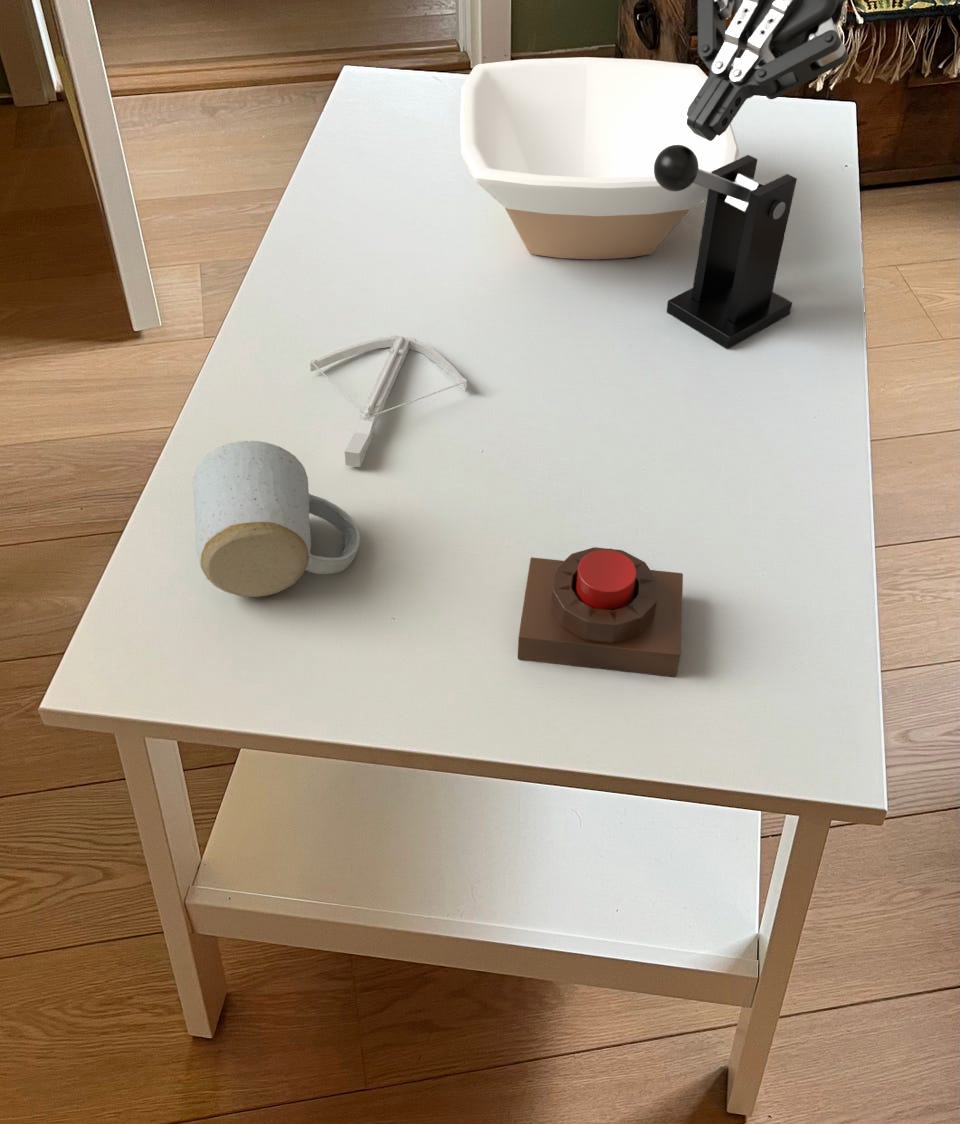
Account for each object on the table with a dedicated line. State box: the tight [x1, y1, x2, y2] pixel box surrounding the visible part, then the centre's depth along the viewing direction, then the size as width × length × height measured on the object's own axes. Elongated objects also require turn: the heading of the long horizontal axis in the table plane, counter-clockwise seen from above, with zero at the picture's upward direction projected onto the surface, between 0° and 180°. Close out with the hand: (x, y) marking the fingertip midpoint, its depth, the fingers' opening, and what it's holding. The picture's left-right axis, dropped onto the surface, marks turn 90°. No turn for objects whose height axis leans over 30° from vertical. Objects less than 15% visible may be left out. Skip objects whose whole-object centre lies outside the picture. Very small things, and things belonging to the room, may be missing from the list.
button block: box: [517, 546, 684, 678], centre depth 75 cm, size 10×7×4 cm
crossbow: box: [309, 334, 468, 468], centre depth 92 cm, size 16×13×2 cm
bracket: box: [666, 154, 798, 350], centre depth 97 cm, size 8×7×13 cm
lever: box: [654, 145, 766, 213], centre depth 89 cm, size 14×3×3 cm, turn 130°
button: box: [576, 550, 636, 610], centre depth 74 cm, size 4×4×2 cm
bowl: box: [459, 56, 740, 260], centre depth 108 cm, size 24×25×11 cm
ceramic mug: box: [192, 440, 361, 598], centre depth 78 cm, size 11×8×8 cm
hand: (698, 132), depth 85 cm, fingers closed
